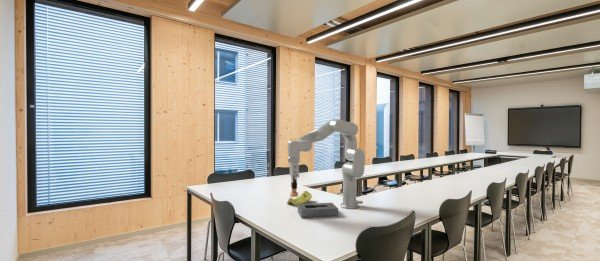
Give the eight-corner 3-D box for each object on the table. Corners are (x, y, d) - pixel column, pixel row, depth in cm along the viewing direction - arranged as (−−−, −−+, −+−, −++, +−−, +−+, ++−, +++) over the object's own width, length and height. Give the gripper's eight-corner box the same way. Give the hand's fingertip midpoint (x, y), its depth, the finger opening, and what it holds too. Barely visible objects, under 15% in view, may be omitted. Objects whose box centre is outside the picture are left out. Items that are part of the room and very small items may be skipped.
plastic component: (299, 204, 200) (289, 196, 205) (295, 212, 203) (285, 204, 208) (314, 196, 216) (304, 189, 221) (311, 204, 219) (301, 197, 224)
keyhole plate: (331, 209, 195) (331, 202, 195) (338, 216, 181) (338, 208, 181) (297, 211, 191) (297, 204, 191) (301, 218, 177) (301, 210, 177)
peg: (297, 194, 186) (297, 178, 186) (298, 196, 181) (298, 179, 181) (289, 195, 185) (289, 178, 185) (290, 197, 180) (290, 179, 180)
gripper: (301, 161, 175) (302, 190, 176) (297, 158, 191) (297, 185, 192) (289, 161, 174) (290, 191, 174) (286, 158, 190) (286, 185, 191)
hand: (294, 187), depth 183 cm, fingers closed on peg, 3 cm apart
